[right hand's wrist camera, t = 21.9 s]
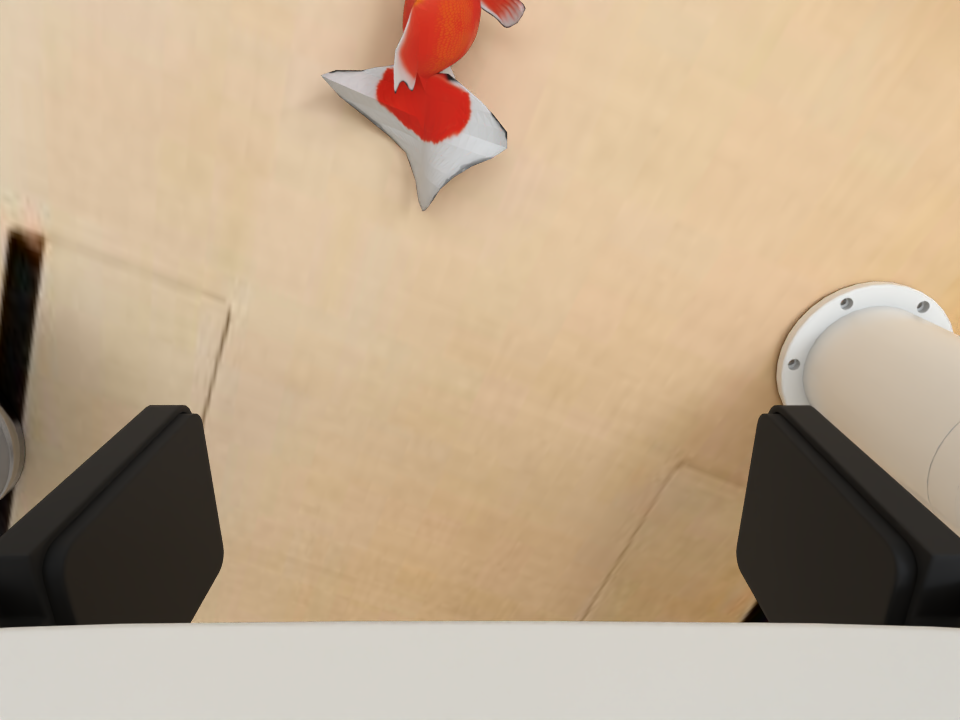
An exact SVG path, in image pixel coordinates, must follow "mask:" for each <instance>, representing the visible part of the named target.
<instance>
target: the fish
mask: <svg viewBox="0 0 960 720" xmlns="http://www.w3.org/2000/svg"><path fill="white" fill-rule="evenodd" d="M481 8H482V9H483V10H485V11H486V12H488V13H489V14H491V15H492V16H494V17H495V18H496V19H497V20H498V21H499V22H500V23H501V24H502V25H503V26H504V27H506V28H508V27H511V26H513V25H515V24H516V23H518V21H519V20H520V18H521V17H522V15H523V13H524V10H525V6H524V4H523V3H522V2H521V1H520V0H405V5H404V13H403V35H402V37H401V39H400V41H399V44H398V46H397V48H396V50H395V60H394V65H391V66H385V67H375V68H371V69H367V70H362V71H356V70H335V71H332V72H329V73H326V74H323V75H321V76H322V77H323V78H324V79H325V81H326V82H327V83H328V84H329V85H330V86H331V87H332V88H333V89H334V91H335V92H336V93H337V94H338V95H339V96H340V97H341V98H342V99H344V100H345V101H346V102H347V103H349V104H350V105H351V106H352V107H354V108H355V109H356V110H357V111H359V112H360V113H361V114H363V115H364V116H365V117H366V118H368V119H369V120H370V121H371V122H373V123H374V124H375V125H376V126H378V127H379V128H380V129H381V130H382V131H384V132H385V133H386V134H387V135H389V136H390V137H391V138H392V139H393V140H394V141H395V142H396V143H397V144H398V145H399V146H400V147H401V148H402V149H403V150H404V151H405V152H406V154H407V157H408V160H409V163H410V165H411V168H412V171H413V174H414V177H415V180H416V187H417V194H418V200H419V204H420V206H421V208H422V211H425V210H426V209H427V208H428V206H429V205H430V204H431V202H432V201H433V199H434V198H435V196H436V195H437V193H438V192H439V190H440V189H441V188H442V187H443V186H444V185H445V184H447V183H448V182H449V181H450V180H451V179H452V178H453V177H455V176H457V175H458V174H460V173H461V172H463V171H465V170H466V169H468V168H470V167H471V166H473V165H476V164H479V163H481V162H484V161H486V160H489V159H491V158H493V157H495V156H496V155H498V154H499V153H500V152H502V151H503V150H505V149H506V148H507V132H506V130H505V129H504V128H503V127H502V125H501V124H500V123H499V121H498V120H497V119H496V118H495V116H494V115H493V114H492V113H491V112H490V111H489V109H488V108H487V107H486V106H485V105H484V104H483V103H482V102H481V101H480V100H479V99H478V98H477V97H476V96H474V95H473V94H472V93H471V92H470V91H469V90H467V89H466V88H465V87H464V86H463V85H462V84H460V83H459V82H458V81H457V80H456V79H455V76H454V74H453V72H452V69H451V67H450V66H451V65H452V64H454V63H455V62H457V61H458V60H459V59H461V58H462V57H463V56H464V55H465V54H466V52H467V51H468V50H469V48H470V47H471V45H472V43H473V41H474V39H475V37H476V34H477V30H478V27H479V22H480V15H481Z"/></svg>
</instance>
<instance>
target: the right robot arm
mask: <svg viewBox="0 0 960 720" xmlns="http://www.w3.org/2000/svg"><path fill="white" fill-rule="evenodd" d="M842 300H843V302H842ZM841 302H842V303H841ZM790 361H791V362H790ZM789 362H790V363H789ZM776 379H777V386H778V392H779V395H780V398H781V400H782V403H783V405H775V406H773V407H772V408H771V409H770V411H769V413H768V414H762V415H761V416H760V417H759V419H758V423H757V429H756V435H755V441H754V447H753V453H752V459H751V465H750V470H749V476H748V482H747V488H746V494H745V500H744V506H743V512H742V518H741V524H740V530H739V536H738V542H737V550H736V555H737V563H738V566H739V569H740V571H741V573H742V575H743V577H744V579H745V580H746V582H747V584H748V586H749V587H750V589H751V591H752V593H753V594H754V596H755V598H756V600H757V602H758V603H759V605H760V607H761V609H762V610H763V612H764V614H765V616H766V617H767V619H768V621H769V623H719V622H606V621H330V622H240V623H191V621H192V619H193V617H194V616H195V614H196V612H197V610H198V609H199V607H200V605H201V603H202V602H203V600H204V598H205V596H206V594H207V593H208V591H209V589H210V587H211V586H212V584H213V582H214V580H215V579H216V577H217V575H218V573H219V571H220V569H221V566H222V563H223V554H224V550H223V542H222V536H221V530H220V524H219V518H218V512H217V506H216V500H215V494H214V488H213V482H212V476H211V471H210V465H209V459H208V453H207V447H206V441H205V435H204V429H203V423H202V419H201V417H200V416H199V415H198V414H192V413H191V411H190V409H189V408H188V407H187V406H185V405H150V406H148V407H146V408H145V409H144V410H143V411H142V412H140V413H139V414H138V415H137V416H136V417H135V418H134V419H133V420H131V421H130V422H129V423H128V424H127V425H126V426H125V427H124V428H122V429H121V430H120V431H119V432H118V433H117V434H116V435H115V436H113V437H112V438H111V439H110V440H109V441H108V442H107V443H106V444H105V445H103V446H102V447H101V448H100V449H99V450H98V451H97V452H96V453H94V454H93V455H92V456H91V457H90V458H89V459H88V460H87V461H85V462H84V463H83V464H82V465H81V466H80V467H79V468H78V469H76V470H75V471H74V472H73V473H72V474H71V475H70V476H69V477H67V478H66V479H65V480H64V481H63V482H62V483H61V484H60V485H58V486H57V487H56V488H55V489H54V490H53V491H52V492H51V493H49V494H48V495H47V496H46V497H45V498H44V499H43V500H42V501H40V502H39V503H38V504H37V505H36V506H35V507H34V508H33V509H31V510H30V511H29V512H28V513H27V514H26V515H25V516H24V517H22V518H21V519H20V520H19V521H18V522H17V523H16V524H15V525H13V526H12V527H11V528H10V529H9V530H8V531H7V532H6V533H5V534H3V535H2V536H1V537H0V720H960V336H959V335H957V334H955V333H953V330H952V326H951V323H950V321H949V319H948V317H947V316H946V314H945V312H944V310H943V309H942V308H941V307H940V306H939V305H938V304H937V303H936V302H935V301H934V300H933V299H931V298H930V297H928V296H927V295H925V294H924V293H922V292H920V291H918V290H916V289H913V288H911V287H908V286H905V285H901V284H897V283H893V282H877V281H874V282H867V283H860V284H856V285H853V286H850V287H846V288H843V289H841V290H839V291H837V292H835V293H833V294H831V295H829V296H827V297H825V298H824V299H822V300H821V301H819V302H818V303H817V304H815V305H814V306H813V307H811V308H810V309H809V310H808V311H807V312H806V313H805V314H804V315H803V316H802V317H801V318H800V319H799V320H798V321H797V323H796V324H795V326H794V327H793V328H792V330H791V331H790V333H789V334H788V336H787V338H786V340H785V342H784V344H783V346H782V349H781V352H780V356H779V359H778V363H777V377H776Z"/></svg>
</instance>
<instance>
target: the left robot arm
mask: <svg viewBox="0 0 960 720" xmlns="http://www.w3.org/2000/svg"><path fill="white" fill-rule="evenodd" d="M24 459H25V443H24V437H23V432H22V429H21V426H20V423H19V420H18V418H17V416H16V414H15V412H14V410H13V408H12V406H11V405H10V403H9V402H8V400H7V399H6V397H5V396H4V395H3V393H2V392H1V391H0V500H1V499H2V498H4V497H5V496H6V495H7V494H8V493H9V492H10V491H11V490H12V489H13V487H14V486H15V484H16V483H17V481H18V479H19V477H20V475H21V472H22V470H23V465H24Z"/></svg>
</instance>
